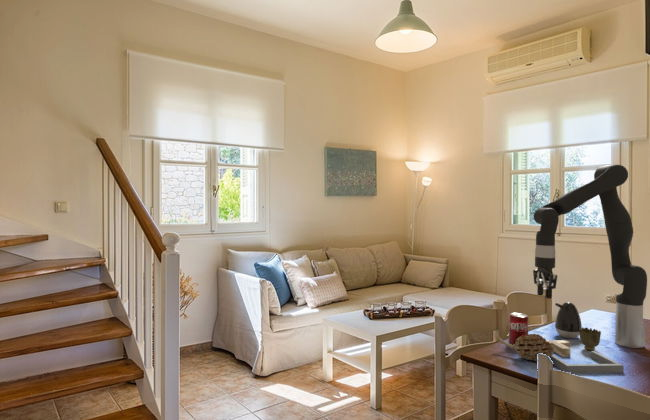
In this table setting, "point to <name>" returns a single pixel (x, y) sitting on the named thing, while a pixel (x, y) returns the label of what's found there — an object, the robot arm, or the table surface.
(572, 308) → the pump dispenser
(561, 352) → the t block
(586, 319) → the table surface
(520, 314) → the soda can
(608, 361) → the shallow grey tray
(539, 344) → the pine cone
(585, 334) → the cup
